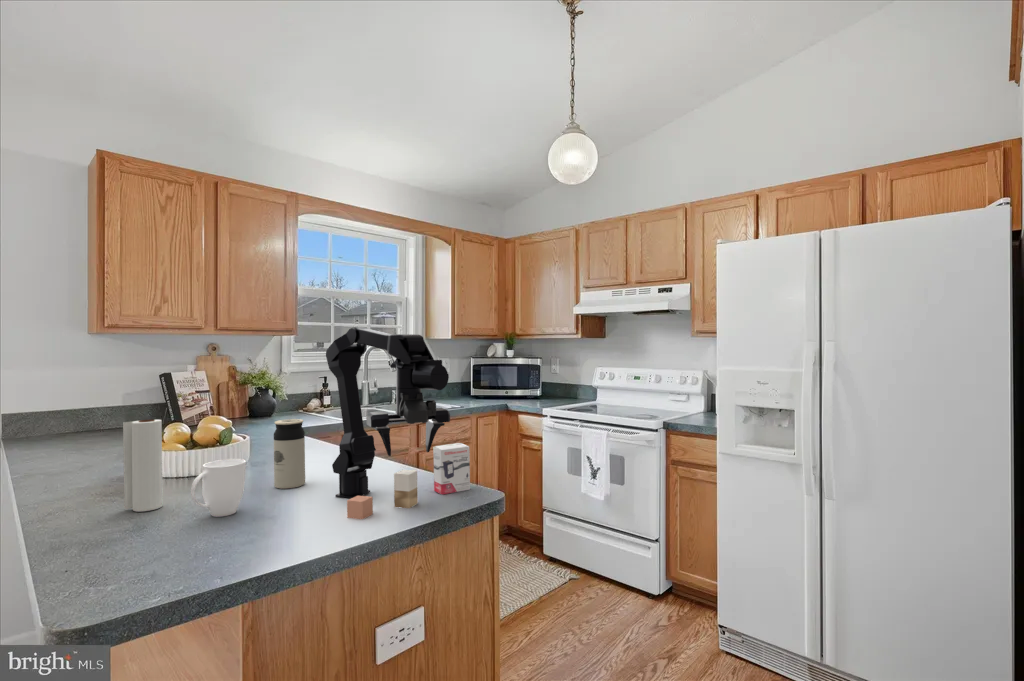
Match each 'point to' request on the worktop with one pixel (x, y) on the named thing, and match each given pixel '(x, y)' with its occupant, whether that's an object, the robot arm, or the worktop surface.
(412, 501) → the oak block
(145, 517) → the worktop surface
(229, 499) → the mug
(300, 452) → the travel mug
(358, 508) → the terracotta block
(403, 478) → the cream block
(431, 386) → the robot arm
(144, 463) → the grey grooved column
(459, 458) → the ink box
